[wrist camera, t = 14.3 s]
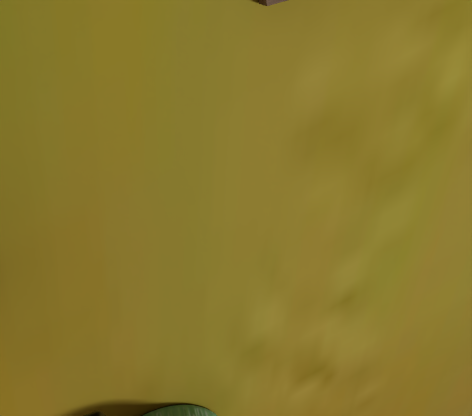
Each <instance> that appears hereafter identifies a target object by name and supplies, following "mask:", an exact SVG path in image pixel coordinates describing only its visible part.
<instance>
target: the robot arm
mask: <svg viewBox="0 0 472 416" xmlns="http://www.w3.org/2000/svg"><path fill="white" fill-rule="evenodd" d="M85 416H105V414H104V413H103V412H102V411H99V410H98V411H95V412H92V413H90V414H87V415H85Z"/></svg>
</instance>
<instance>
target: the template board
mask: <svg viewBox="0 0 472 416" xmlns="http://www.w3.org/2000/svg"><path fill="white" fill-rule="evenodd" d="M283 1H287V0H259V4H262V5H265V6H269V5H272V4H276V3H280V2H283Z"/></svg>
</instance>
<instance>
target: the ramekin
mask: <svg viewBox="0 0 472 416" xmlns="http://www.w3.org/2000/svg"><path fill="white" fill-rule="evenodd" d="M143 416H217V415H216V414H215V413H213V412H212V411H210V410H208V409H206V408H203V407H200V406H195V405H175V406H168V407H164V408H160V409H157V410H154V411H152V412H149V413H147V414H145V415H143Z"/></svg>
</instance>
